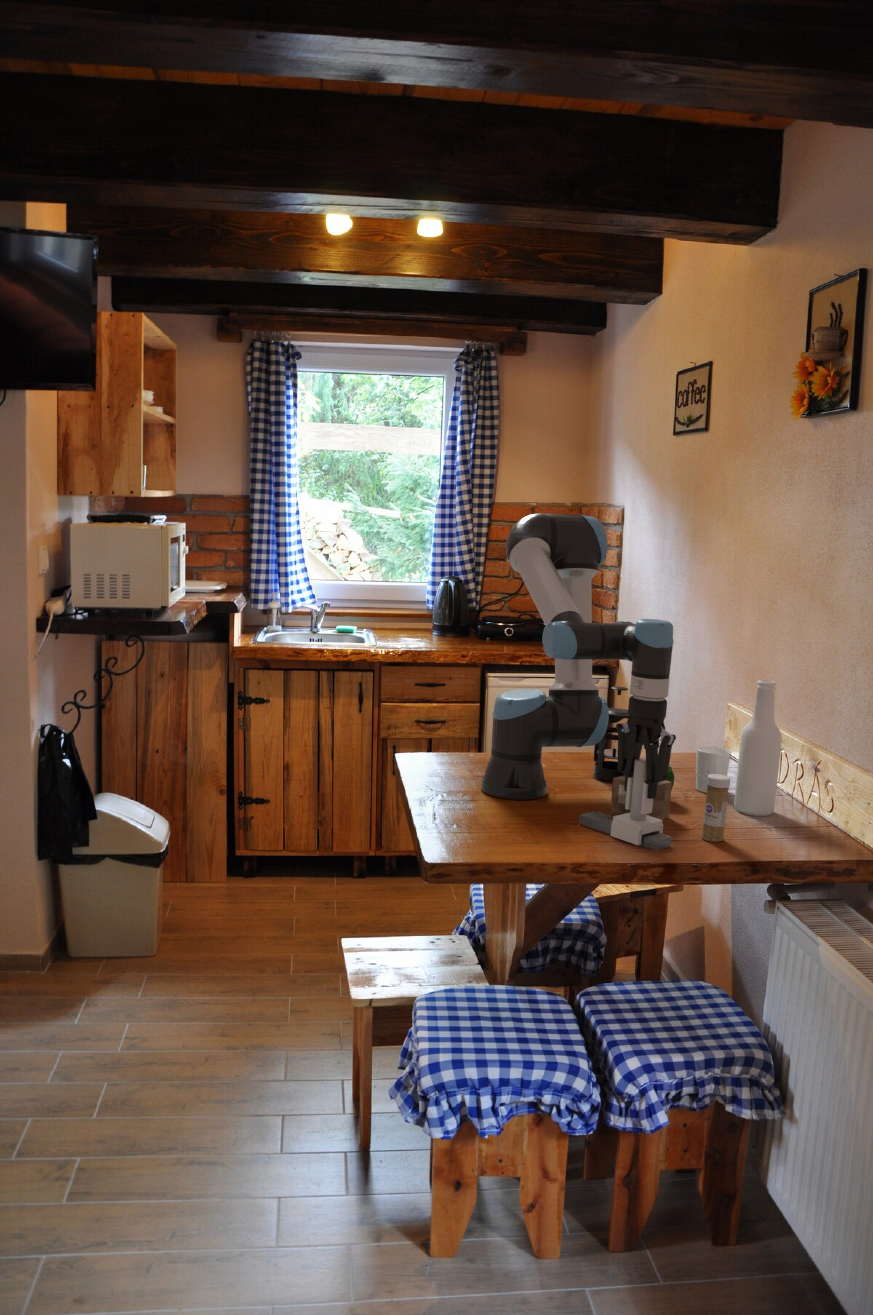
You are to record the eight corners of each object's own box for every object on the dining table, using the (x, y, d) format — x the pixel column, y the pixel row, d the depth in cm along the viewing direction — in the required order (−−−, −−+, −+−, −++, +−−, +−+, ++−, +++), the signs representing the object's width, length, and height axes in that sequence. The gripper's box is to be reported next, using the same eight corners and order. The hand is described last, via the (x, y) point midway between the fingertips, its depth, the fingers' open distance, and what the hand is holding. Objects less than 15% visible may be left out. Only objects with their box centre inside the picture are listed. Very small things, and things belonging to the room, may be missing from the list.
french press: (641, 782, 263) (649, 690, 260) (612, 786, 258) (620, 692, 255) (608, 770, 273) (616, 681, 269) (580, 773, 268) (587, 683, 264)
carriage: (610, 835, 219) (616, 759, 216) (634, 829, 224) (641, 754, 221) (637, 845, 213) (644, 767, 211) (661, 838, 219) (668, 762, 216)
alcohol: (730, 804, 248) (742, 676, 243) (768, 806, 248) (781, 678, 243) (738, 815, 239) (751, 683, 235) (778, 818, 239) (792, 685, 234)
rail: (578, 823, 227) (579, 814, 227) (594, 820, 230) (595, 811, 230) (655, 850, 212) (656, 841, 212) (670, 846, 215) (671, 836, 215)
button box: (609, 813, 236) (612, 777, 234) (636, 806, 242) (639, 772, 240) (642, 824, 229) (645, 787, 228) (668, 817, 235) (671, 782, 234)
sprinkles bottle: (697, 839, 221) (703, 775, 219) (707, 834, 225) (713, 772, 222) (718, 844, 218) (724, 780, 216) (727, 839, 222) (734, 776, 220)
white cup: (723, 787, 263) (727, 747, 261) (729, 796, 255) (733, 755, 254) (691, 784, 264) (694, 745, 262) (695, 793, 256) (699, 752, 254)
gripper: (604, 691, 218) (595, 803, 221) (670, 706, 206) (659, 824, 209) (628, 688, 223) (618, 798, 226) (693, 703, 211) (682, 818, 214)
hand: (638, 810), depth 218 cm, fingers closed on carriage, 3 cm apart
